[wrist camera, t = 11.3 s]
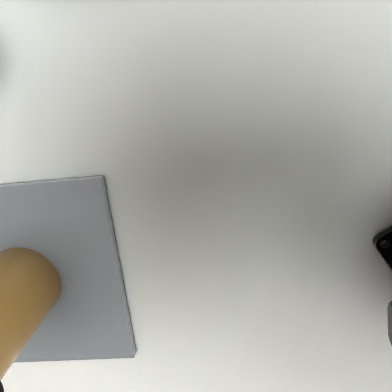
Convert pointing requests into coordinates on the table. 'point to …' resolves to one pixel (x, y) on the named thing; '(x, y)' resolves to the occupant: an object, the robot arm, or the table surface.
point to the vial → (23, 299)
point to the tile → (71, 267)
